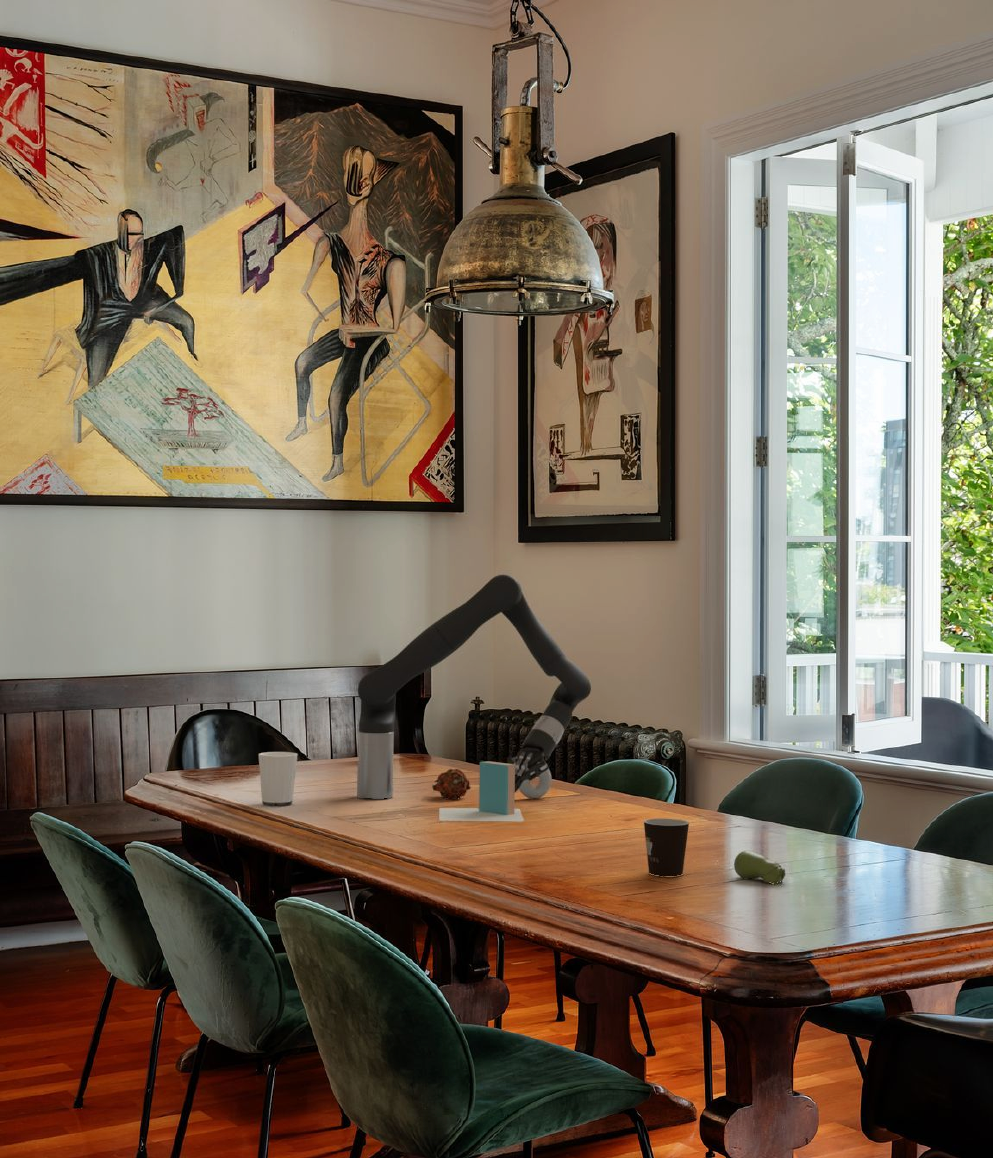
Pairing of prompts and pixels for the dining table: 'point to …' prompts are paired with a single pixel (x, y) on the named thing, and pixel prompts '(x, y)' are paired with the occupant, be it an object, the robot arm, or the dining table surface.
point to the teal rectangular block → (497, 788)
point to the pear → (758, 867)
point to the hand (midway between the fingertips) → (510, 790)
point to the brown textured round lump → (452, 784)
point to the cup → (277, 777)
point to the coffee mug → (666, 845)
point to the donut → (537, 786)
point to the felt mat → (476, 815)
